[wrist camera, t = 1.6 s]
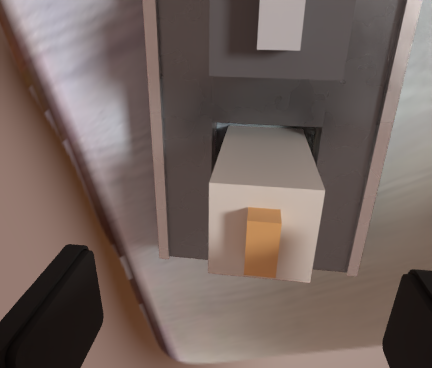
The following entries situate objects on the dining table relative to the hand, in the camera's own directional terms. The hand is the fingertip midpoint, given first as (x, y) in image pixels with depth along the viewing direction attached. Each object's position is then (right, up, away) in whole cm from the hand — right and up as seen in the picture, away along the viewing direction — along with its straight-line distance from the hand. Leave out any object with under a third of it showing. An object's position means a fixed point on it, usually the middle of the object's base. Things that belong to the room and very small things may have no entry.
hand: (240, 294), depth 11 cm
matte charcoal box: (+2, +12, +7) cm, 14 cm away
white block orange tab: (+2, +5, +10) cm, 11 cm away
